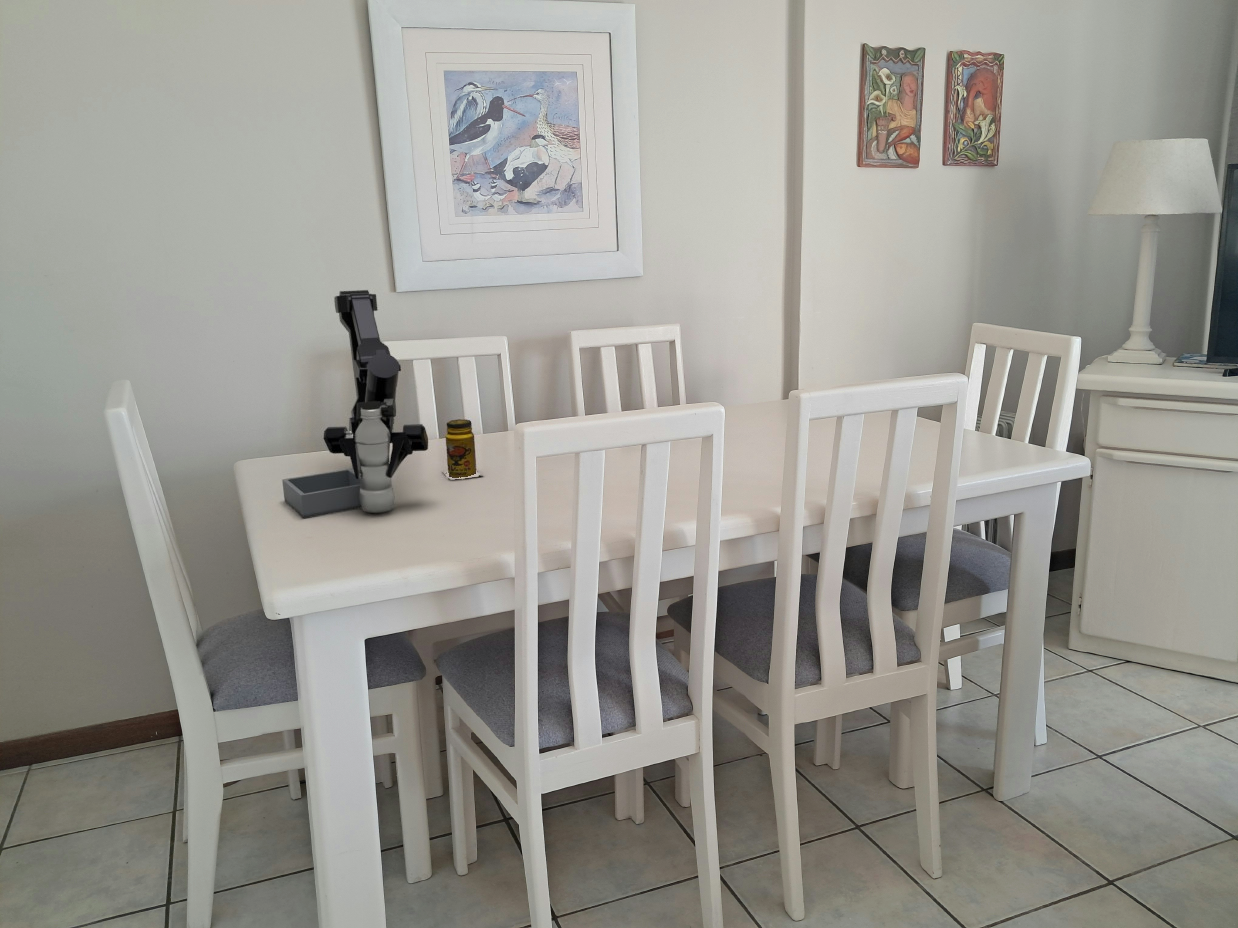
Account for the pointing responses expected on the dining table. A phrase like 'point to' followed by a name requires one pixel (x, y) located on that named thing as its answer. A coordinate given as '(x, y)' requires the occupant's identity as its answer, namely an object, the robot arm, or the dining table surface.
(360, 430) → the plastic bottle
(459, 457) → the condiment
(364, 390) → the robot arm
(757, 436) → the dining table surface
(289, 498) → the tote
